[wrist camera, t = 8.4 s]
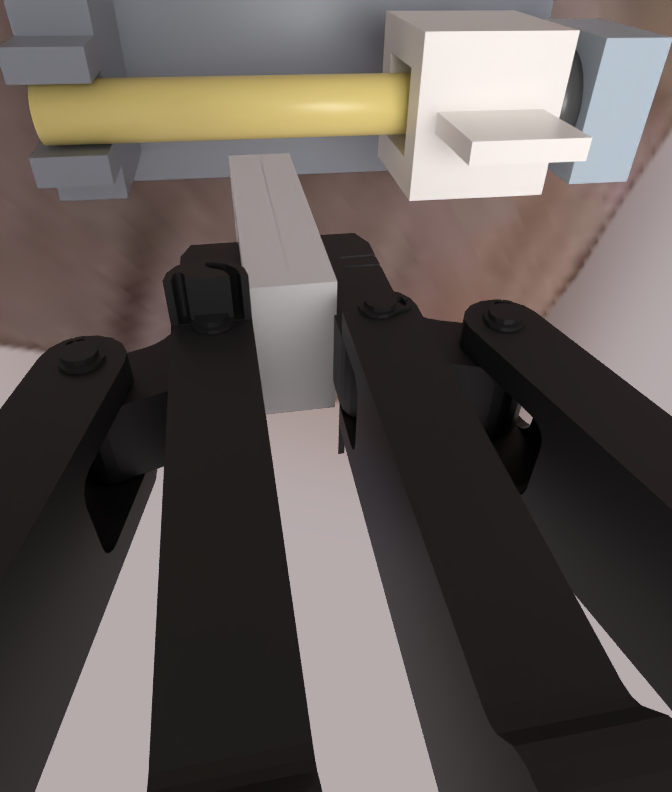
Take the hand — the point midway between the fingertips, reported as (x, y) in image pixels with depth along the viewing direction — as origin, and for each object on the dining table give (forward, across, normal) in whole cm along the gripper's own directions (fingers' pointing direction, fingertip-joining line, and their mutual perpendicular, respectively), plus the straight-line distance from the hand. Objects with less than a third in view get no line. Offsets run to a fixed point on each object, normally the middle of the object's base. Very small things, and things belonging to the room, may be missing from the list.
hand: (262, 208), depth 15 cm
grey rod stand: (+21, +4, -1) cm, 21 cm away
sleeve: (+15, +10, -1) cm, 18 cm away
